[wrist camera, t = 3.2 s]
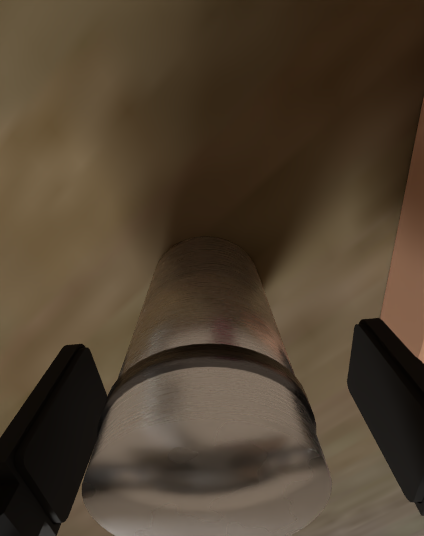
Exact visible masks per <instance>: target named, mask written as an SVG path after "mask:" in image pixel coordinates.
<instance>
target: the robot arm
mask: <svg viewBox="0 0 424 536" xmlns="http://www.w3.org/2000/svg"><path fill="white" fill-rule="evenodd" d="M347 384H348V389H349V391H350V393H351V395H352V397H353V399H354V401H355V403H356V405H357V407H358V408H359V410H360V412H361V414H362V416H363V418H364V420H365V422H366V424H367V425H368V427H369V429H370V431H371V433H372V435H373V437H374V439H375V440H376V442H377V444H378V446H379V448H380V450H381V452H382V454H383V455H384V457H385V459H386V461H387V463H388V465H389V467H390V469H391V471H392V472H393V474H394V476H395V478H396V480H397V482H398V484H399V486H400V487H401V489H402V491H403V493H404V495H405V496H406V498H407V499H408V500H409V501H410V502H414V503H415V504H416V506H417V508H418V510H419V512H420V514H421V515H422V516H424V363H423V362H422V361H421V360H420V359H418V358H417V357H415V356H414V354H413V353H412V352H411V351H410V350H409V349H408V348H407V347H406V346H405V345H404V343H403V342H402V341H401V340H400V339H399V338H398V337H397V336H396V335H395V334H394V332H393V331H392V330H391V329H390V328H389V327H388V326H387V325H386V324H385V323H384V321H383V320H381V319H380V318H374V319H362V320H361V321H360V322H359V324H356V325H355V327H354V334H353V342H352V349H351V357H350V364H349V372H348V379H347ZM106 399H107V394H106V391H105V389H104V386H103V383H102V381H101V378H100V375H99V373H98V370H97V368H96V365H95V362H94V360H93V357H92V354H91V352H90V349H89V348H85V346H84V345H83V344H74V345H66V346H64V347H63V348H62V349H61V351H60V352H59V354H58V355H57V357H56V358H55V360H54V361H53V362H52V364H51V365H50V367H49V368H48V370H47V371H46V373H45V374H44V375H43V377H42V378H41V380H40V381H39V383H38V384H37V386H36V387H35V388H34V390H33V391H32V393H31V394H30V396H29V397H28V399H27V400H26V401H25V403H24V404H23V406H22V407H21V409H20V410H19V412H18V413H17V414H16V416H15V417H14V419H13V420H12V422H11V423H10V425H9V426H8V427H7V429H6V430H5V432H4V433H3V435H2V436H1V438H0V536H56V535H57V533H58V530H59V528H60V525H61V523H62V522H65V521H66V519H67V518H68V516H69V513H70V511H71V508H72V505H73V503H74V500H75V497H76V495H77V492H78V489H79V487H80V484H81V481H82V479H83V476H84V473H85V471H86V468H87V465H88V463H89V460H90V457H91V455H92V452H93V449H94V446H95V444H96V441H97V426H98V423H99V419H100V416H101V413H102V411H103V408H104V405H105V402H106Z"/></svg>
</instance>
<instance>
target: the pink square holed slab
mask: <svg viewBox="0 0 424 536" xmlns="http://www.w3.org/2000/svg"><path fill="white" fill-rule="evenodd" d="M380 319H381V320H383V321H384V323H385V324H386V325H387V326H388V327H389V328H390V329H391V330H392V331H393V332H394V334H395V335H396V336H397V337H398V338H399V339H400V340H401V341H402V342H403V343H404V345H405V346H406V347H407V348H408V349H409V350H410V351H411V352H412V353H413V354H414V356H415V357H417V358H418V359H420V360H421V361H422V362H423V363H424V97H423V103H422V108H421V113H420V118H419V123H418V128H417V133H416V138H415V143H414V148H413V153H412V159H411V164H410V169H409V174H408V179H407V184H406V189H405V194H404V199H403V204H402V210H401V215H400V220H399V225H398V230H397V235H396V240H395V245H394V250H393V255H392V260H391V266H390V271H389V276H388V281H387V286H386V291H385V296H384V301H383V306H382V311H381V317H380Z"/></svg>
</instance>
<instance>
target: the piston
mask: <svg viewBox="0 0 424 536" xmlns="http://www.w3.org/2000/svg"><path fill="white" fill-rule="evenodd" d="M331 490H332V480H331V475H330V471H329V468H328V466H327V463H326V460H325V457H324V455H323V452H322V449H321V446H320V444H319V441H318V438H317V435H316V422H315V418H314V414H313V412H312V409H311V406H310V404H309V401H308V399H307V396H306V393H305V391H304V389H303V387H302V385H301V384H300V382H299V381H298V379H297V378H296V377H295V374H294V372H293V369H292V366H291V363H290V361H289V358H288V355H287V352H286V350H285V347H284V344H283V341H282V339H281V336H280V333H279V330H278V328H277V325H276V322H275V319H274V316H273V314H272V311H271V308H270V305H269V303H268V300H267V297H266V294H265V292H264V289H263V286H262V283H261V281H260V278H259V275H258V272H257V270H256V267H255V265H254V263H253V261H252V260H251V258H250V257H249V256H248V254H247V253H246V252H245V251H244V250H243V249H241V248H240V247H239V246H237V245H236V244H234V243H232V242H230V241H227V240H224V239H221V238H216V237H196V238H191V239H188V240H185V241H182V242H180V243H178V244H177V245H175V246H173V247H172V248H171V249H169V250H168V251H167V252H166V253H165V254H164V255H163V256H162V258H161V259H160V261H159V262H158V264H157V267H156V269H155V272H154V275H153V278H152V281H151V284H150V287H149V289H148V292H147V295H146V298H145V301H144V304H143V307H142V310H141V313H140V316H139V319H138V322H137V325H136V327H135V330H134V333H133V336H132V339H131V342H130V345H129V348H128V351H127V354H126V357H125V360H124V363H123V365H122V368H121V371H120V374H119V377H118V380H117V381H116V382H115V384H114V385H113V386H112V388H111V390H110V392H109V394H108V397H107V399H106V402H105V405H104V408H103V411H102V413H101V416H100V419H99V423H98V426H97V441H96V444H95V447H94V450H93V453H92V456H91V459H90V462H89V465H88V468H87V471H86V474H85V477H84V480H83V483H82V497H83V501H84V504H85V506H86V508H87V510H88V512H89V513H90V515H91V516H92V517H93V519H94V520H95V521H96V522H97V523H98V524H99V525H101V526H102V527H103V528H105V529H106V530H107V531H109V532H110V533H112V534H114V535H115V536H291V535H293V534H294V533H296V532H298V531H299V530H301V529H303V528H304V527H305V526H307V525H308V524H309V523H311V522H312V521H313V520H314V519H315V518H316V517H317V516H318V515H319V514H320V513H321V511H322V510H323V509H324V508H325V506H326V504H327V502H328V500H329V498H330V494H331Z"/></svg>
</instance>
